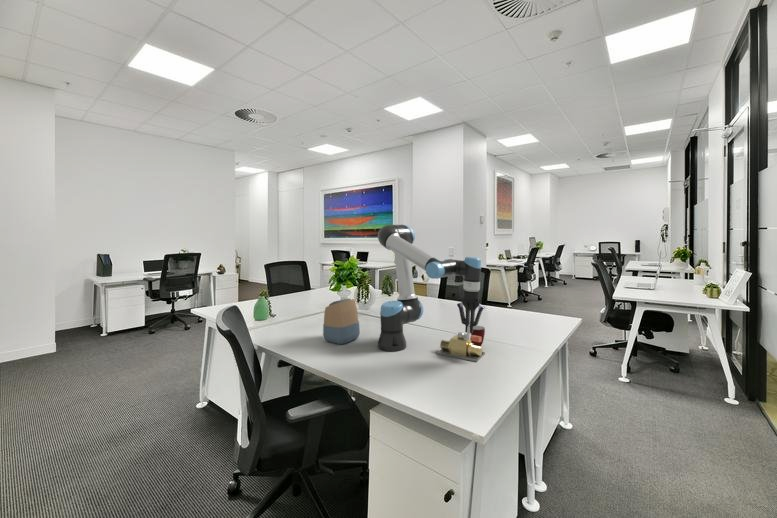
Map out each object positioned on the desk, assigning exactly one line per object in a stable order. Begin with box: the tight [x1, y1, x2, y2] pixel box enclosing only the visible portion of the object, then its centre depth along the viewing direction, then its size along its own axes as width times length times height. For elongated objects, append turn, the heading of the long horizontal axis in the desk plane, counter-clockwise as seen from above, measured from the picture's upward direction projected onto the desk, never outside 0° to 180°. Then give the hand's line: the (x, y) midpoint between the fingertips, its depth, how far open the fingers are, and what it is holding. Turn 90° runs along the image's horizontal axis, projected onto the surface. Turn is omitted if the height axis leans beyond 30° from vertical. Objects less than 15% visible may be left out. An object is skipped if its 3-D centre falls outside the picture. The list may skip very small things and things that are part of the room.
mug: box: [471, 325, 486, 347], centre depth 177 cm, size 10×8×10 cm
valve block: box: [436, 334, 486, 363], centre depth 167 cm, size 20×12×8 cm, turn 57°
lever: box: [457, 332, 482, 342], centre depth 163 cm, size 12×3×3 cm, turn 46°
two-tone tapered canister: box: [322, 298, 361, 345], centre depth 191 cm, size 17×17×23 cm
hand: (468, 339), depth 161 cm, fingers closed
